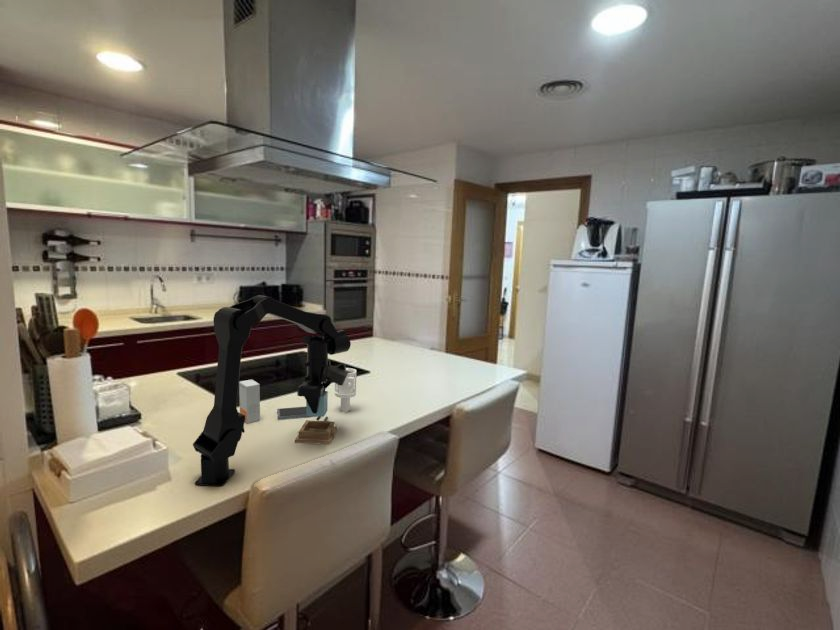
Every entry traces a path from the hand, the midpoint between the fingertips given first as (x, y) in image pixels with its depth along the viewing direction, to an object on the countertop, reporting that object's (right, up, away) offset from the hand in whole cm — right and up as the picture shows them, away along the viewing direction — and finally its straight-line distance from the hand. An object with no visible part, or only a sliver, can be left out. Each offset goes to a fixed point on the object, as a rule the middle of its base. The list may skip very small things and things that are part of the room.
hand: (316, 409), depth 118 cm
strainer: (+4, -5, +22) cm, 23 cm away
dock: (0, -8, +1) cm, 8 cm away
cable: (-2, -6, +13) cm, 14 cm away
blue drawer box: (0, -1, 0) cm, 1 cm away
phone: (-10, -5, +17) cm, 20 cm away
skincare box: (-24, -6, +11) cm, 27 cm away
